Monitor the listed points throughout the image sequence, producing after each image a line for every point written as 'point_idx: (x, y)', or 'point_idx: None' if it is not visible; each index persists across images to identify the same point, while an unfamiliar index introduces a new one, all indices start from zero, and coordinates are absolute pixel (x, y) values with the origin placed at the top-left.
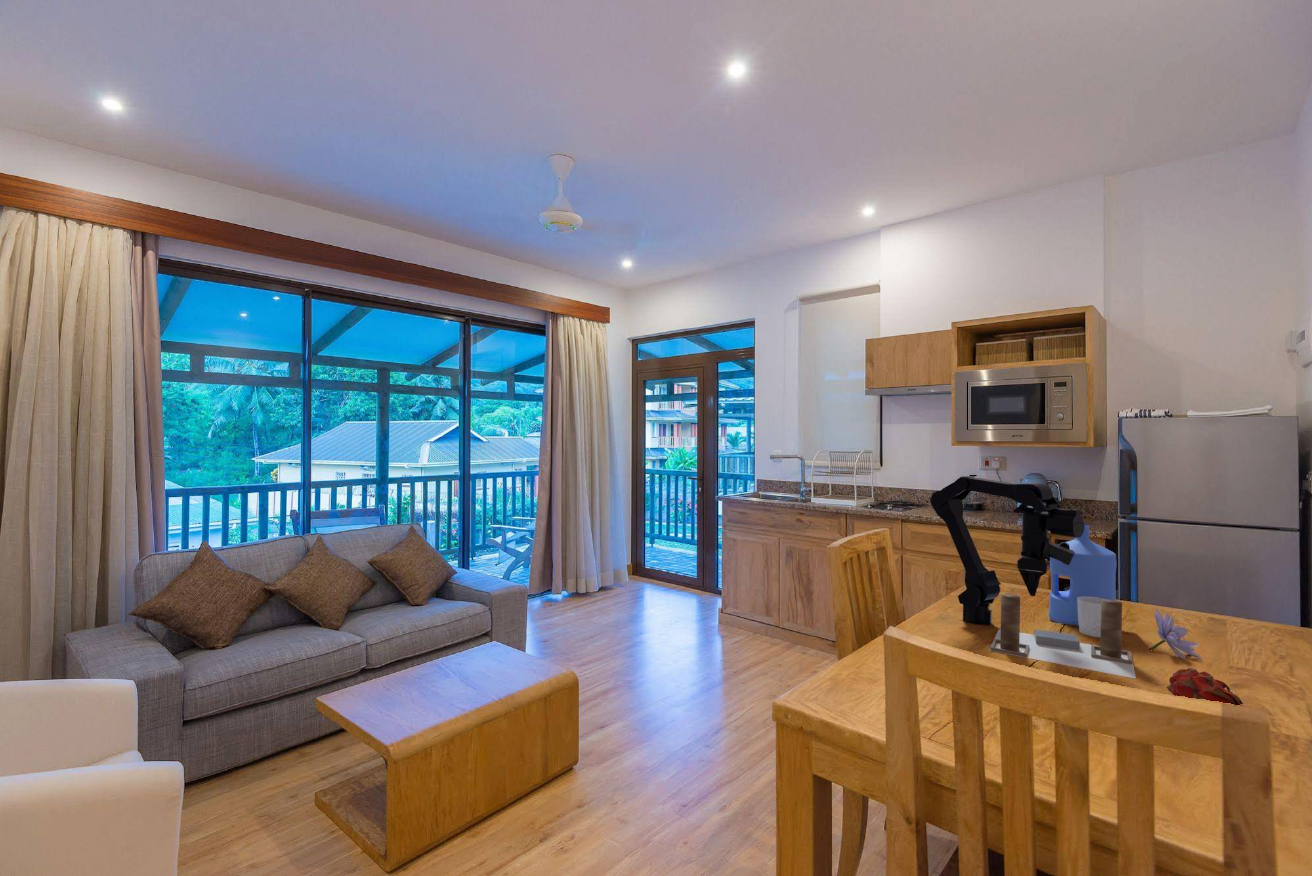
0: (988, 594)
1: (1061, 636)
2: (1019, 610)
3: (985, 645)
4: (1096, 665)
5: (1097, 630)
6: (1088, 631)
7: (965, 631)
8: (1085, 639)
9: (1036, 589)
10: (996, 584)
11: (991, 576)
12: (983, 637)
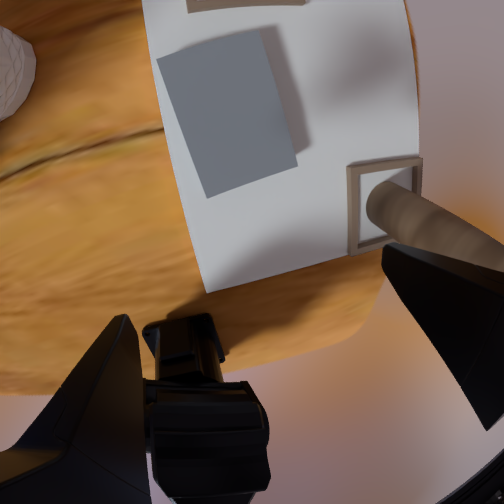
0: (245, 403)
1: (232, 92)
2: (480, 230)
3: (344, 262)
4: (367, 2)
5: (19, 45)
6: (22, 74)
7: (260, 336)
8: (35, 84)
9: (438, 254)
10: (193, 435)
11: (199, 473)
12: (279, 292)
